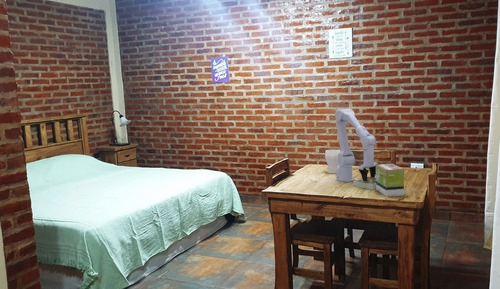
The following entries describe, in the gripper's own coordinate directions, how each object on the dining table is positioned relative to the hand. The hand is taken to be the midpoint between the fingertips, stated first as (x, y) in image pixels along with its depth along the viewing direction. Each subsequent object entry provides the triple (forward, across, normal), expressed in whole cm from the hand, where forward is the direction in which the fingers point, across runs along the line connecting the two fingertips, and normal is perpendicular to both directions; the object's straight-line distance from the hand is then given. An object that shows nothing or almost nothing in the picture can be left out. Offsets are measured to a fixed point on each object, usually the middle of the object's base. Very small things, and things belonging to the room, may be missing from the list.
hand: (368, 179), depth 249 cm
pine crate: (+3, 0, 0) cm, 3 cm away
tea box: (+4, -6, -17) cm, 18 cm away
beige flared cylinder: (+4, +18, +41) cm, 45 cm away
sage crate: (+4, 0, 0) cm, 4 cm away
